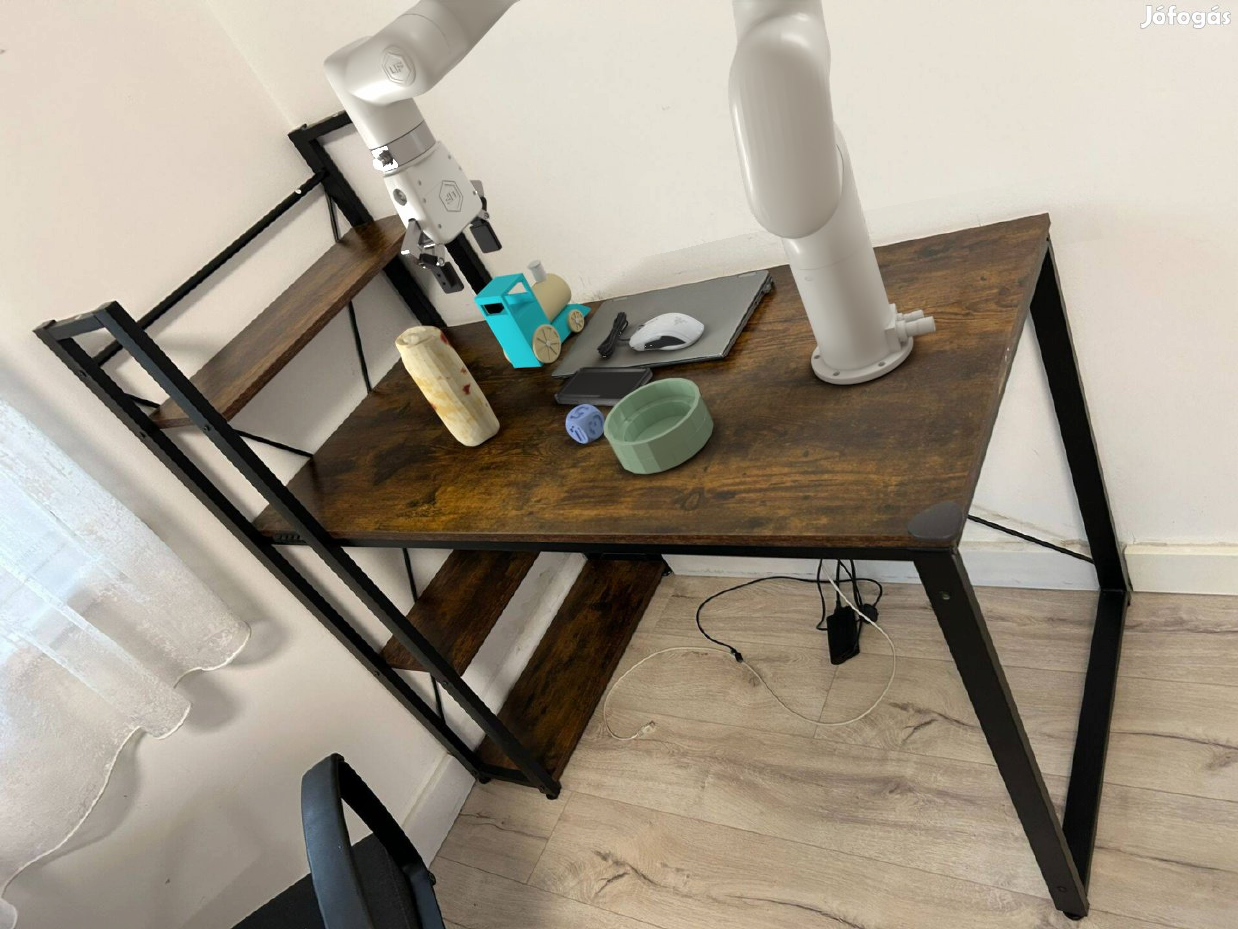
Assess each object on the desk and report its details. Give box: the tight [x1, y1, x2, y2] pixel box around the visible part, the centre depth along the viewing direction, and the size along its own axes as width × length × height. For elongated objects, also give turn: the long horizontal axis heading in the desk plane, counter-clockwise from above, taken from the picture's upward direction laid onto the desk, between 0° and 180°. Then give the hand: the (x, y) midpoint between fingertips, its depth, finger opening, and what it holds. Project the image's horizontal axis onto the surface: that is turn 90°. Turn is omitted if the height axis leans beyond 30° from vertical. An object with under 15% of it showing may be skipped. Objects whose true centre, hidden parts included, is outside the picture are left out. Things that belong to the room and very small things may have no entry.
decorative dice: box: [565, 404, 606, 444], centre depth 122 cm, size 4×4×4 cm
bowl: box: [603, 377, 714, 475], centre depth 112 cm, size 13×13×6 cm
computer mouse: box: [596, 311, 705, 359], centre depth 136 cm, size 10×18×4 cm, turn 61°
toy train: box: [473, 259, 592, 369], centre depth 148 cm, size 8×17×15 cm, turn 148°
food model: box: [395, 325, 500, 447], centre depth 132 cm, size 10×7×20 cm
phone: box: [554, 366, 654, 407], centre depth 131 cm, size 8×1×15 cm
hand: (474, 270), depth 114 cm, fingers open, 9 cm apart
